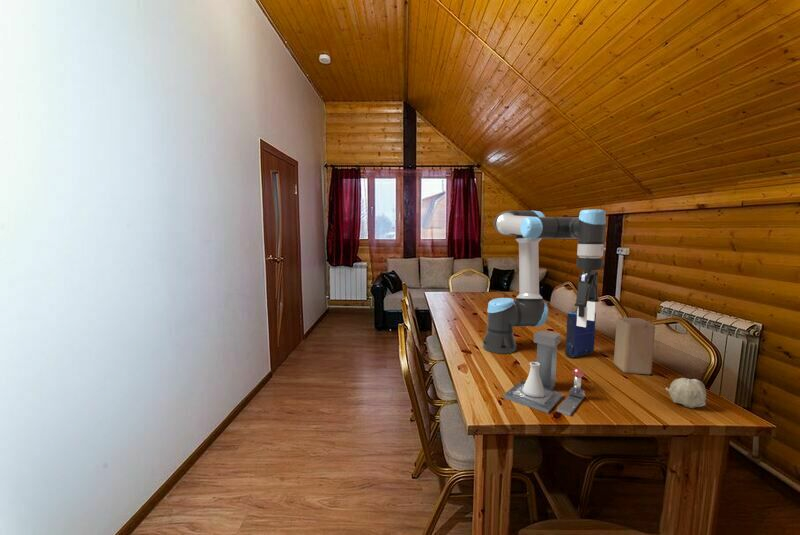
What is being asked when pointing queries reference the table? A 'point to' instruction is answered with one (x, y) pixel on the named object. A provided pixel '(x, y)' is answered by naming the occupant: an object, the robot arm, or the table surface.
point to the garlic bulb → (688, 392)
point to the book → (579, 337)
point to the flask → (534, 382)
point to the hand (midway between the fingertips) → (585, 323)
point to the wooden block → (634, 345)
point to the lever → (577, 383)
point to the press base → (545, 379)
